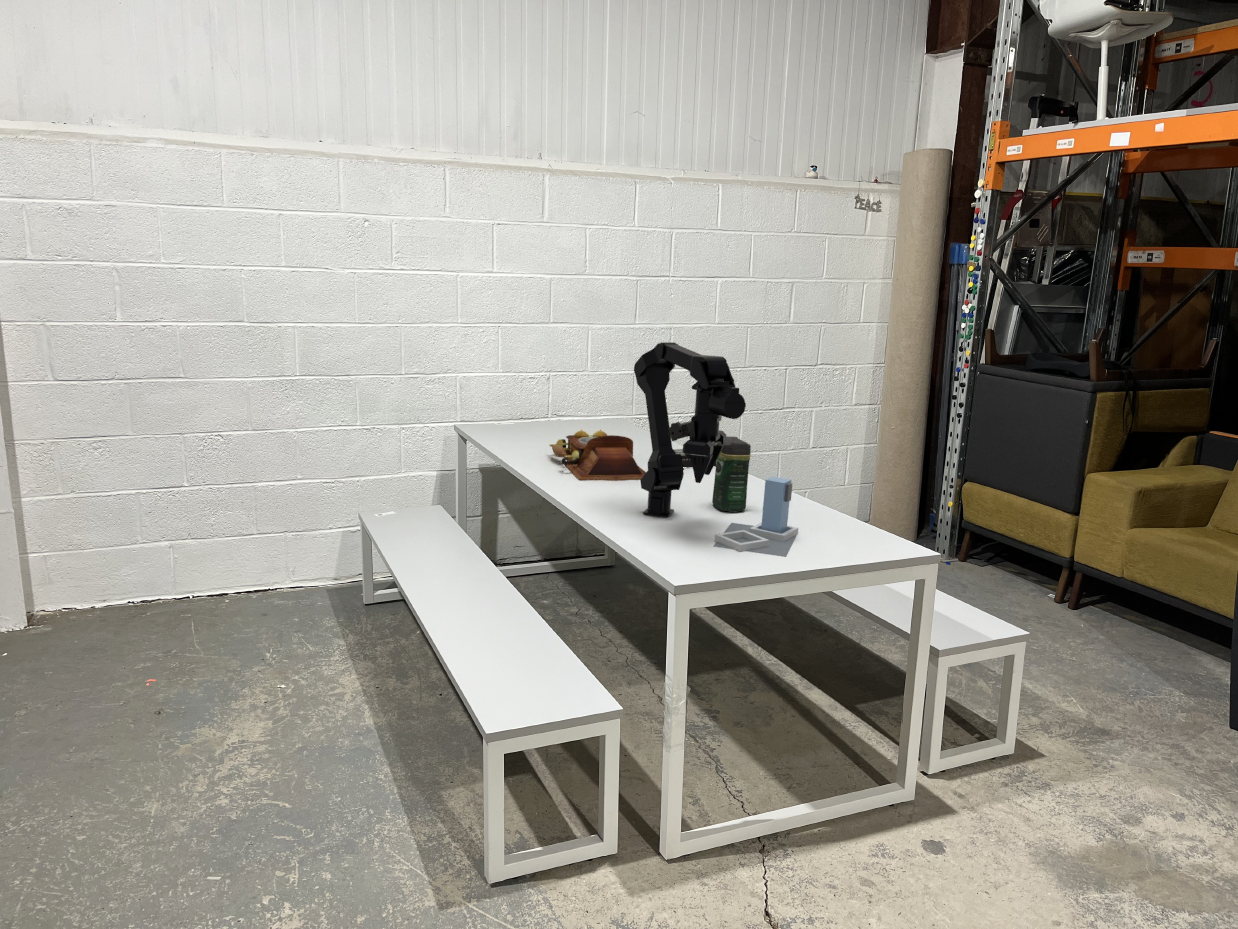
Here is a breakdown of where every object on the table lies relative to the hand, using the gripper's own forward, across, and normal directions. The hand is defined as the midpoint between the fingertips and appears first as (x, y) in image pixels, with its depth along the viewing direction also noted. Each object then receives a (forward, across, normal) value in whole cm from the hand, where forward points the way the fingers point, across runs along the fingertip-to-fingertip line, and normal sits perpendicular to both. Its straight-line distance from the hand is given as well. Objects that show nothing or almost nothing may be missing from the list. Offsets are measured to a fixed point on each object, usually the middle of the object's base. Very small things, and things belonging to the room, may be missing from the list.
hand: (702, 478), depth 213 cm
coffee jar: (+13, -26, +2) cm, 29 cm away
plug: (+12, -4, +17) cm, 21 cm away
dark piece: (+13, -75, -20) cm, 79 cm away
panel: (+13, +2, +14) cm, 19 cm away
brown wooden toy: (+14, -56, -46) cm, 73 cm away
